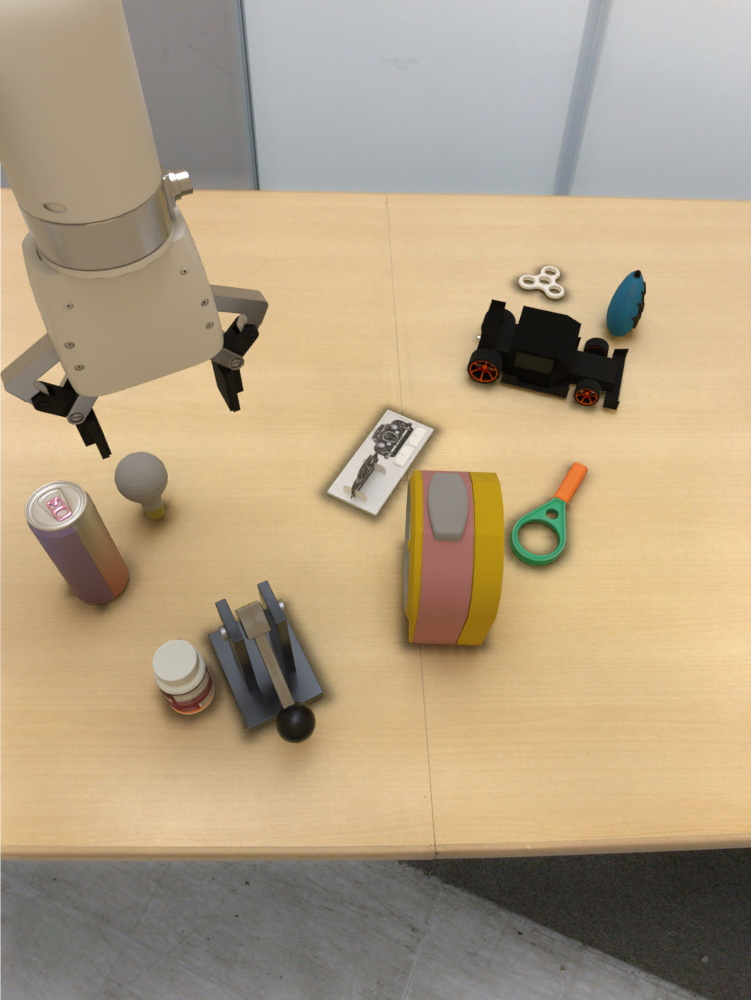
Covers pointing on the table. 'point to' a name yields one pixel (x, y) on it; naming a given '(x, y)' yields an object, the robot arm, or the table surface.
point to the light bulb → (143, 481)
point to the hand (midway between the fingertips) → (167, 421)
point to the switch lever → (276, 677)
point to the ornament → (626, 305)
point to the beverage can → (77, 541)
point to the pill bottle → (183, 676)
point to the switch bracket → (249, 668)
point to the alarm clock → (453, 556)
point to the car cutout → (380, 463)
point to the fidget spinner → (544, 287)
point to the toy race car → (545, 356)
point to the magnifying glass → (539, 515)
